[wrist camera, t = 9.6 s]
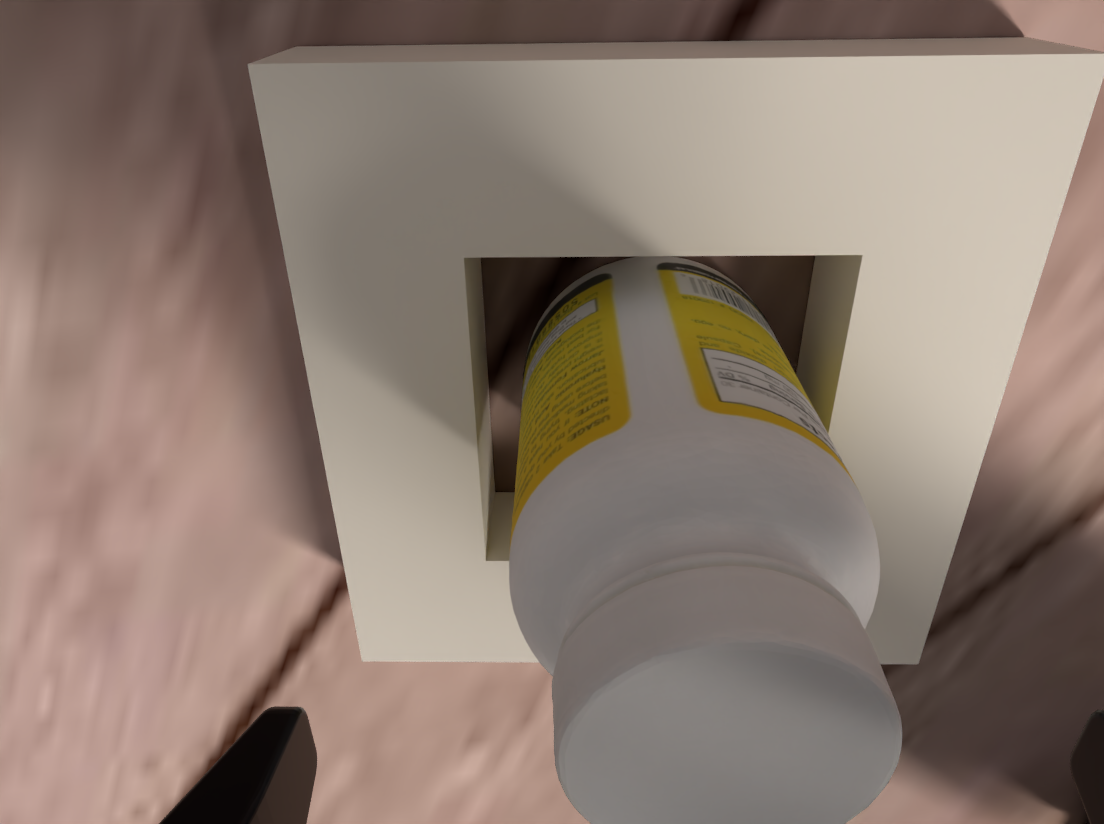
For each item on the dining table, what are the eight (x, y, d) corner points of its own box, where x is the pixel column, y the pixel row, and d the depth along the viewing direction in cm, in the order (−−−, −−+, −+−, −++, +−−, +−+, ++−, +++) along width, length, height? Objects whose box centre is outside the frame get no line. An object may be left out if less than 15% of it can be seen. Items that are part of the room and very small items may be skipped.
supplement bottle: (544, 480, 19) (526, 906, 11) (505, 267, 16) (440, 612, 8) (773, 455, 19) (945, 881, 10) (771, 231, 16) (1005, 557, 7)
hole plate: (1026, 37, 14) (1111, 53, 12) (881, 589, 21) (918, 664, 18) (296, 46, 14) (247, 64, 12) (383, 587, 21) (362, 661, 19)
